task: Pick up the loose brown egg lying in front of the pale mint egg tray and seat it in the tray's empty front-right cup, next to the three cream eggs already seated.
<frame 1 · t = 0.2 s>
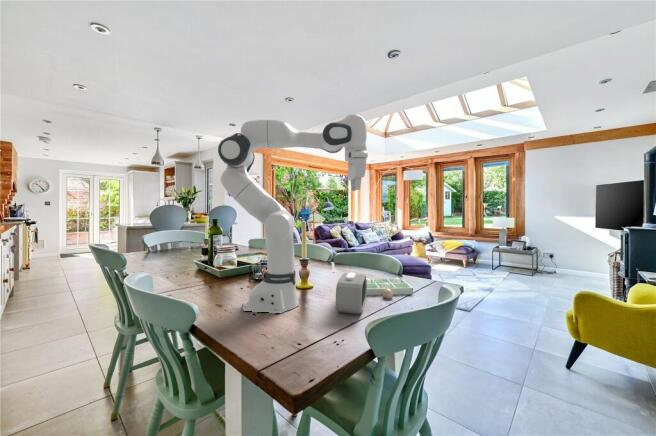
hand: (355, 190, 113), 47 cm above the table, fingers open, 8 cm apart
cream egg a: (366, 287, 136), point 1 cm above the table, touching egg tray
cream egg b: (396, 286, 136), point 1 cm above the table, touching egg tray
brown egg: (388, 299, 121), on the table
cream egg c: (385, 291, 129), point 1 cm above the table, touching egg tray
egg tray: (383, 290, 132), on the table
alarm clock: (352, 308, 111), on the table
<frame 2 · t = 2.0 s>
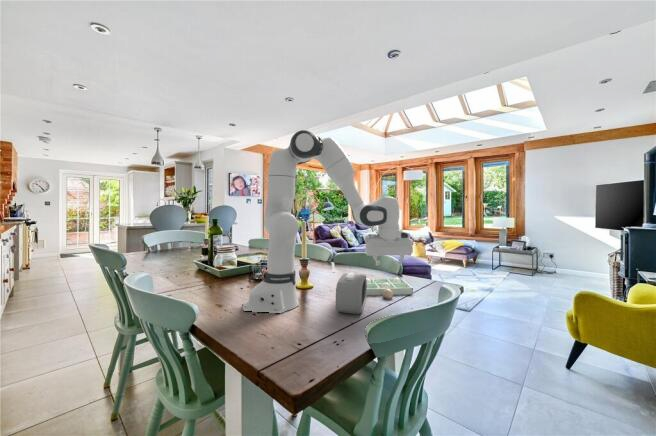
hand: (388, 265, 120), 15 cm above the table, fingers open, 8 cm apart
nothing on the table moved.
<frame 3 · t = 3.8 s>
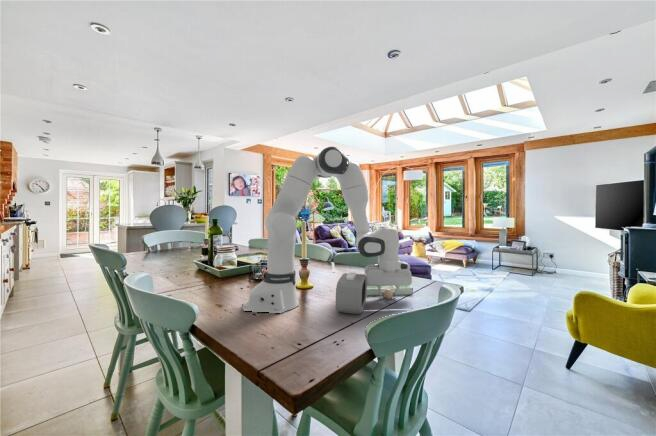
hand: (388, 295, 121), 2 cm above the table, fingers closed on brown egg, 4 cm apart
brown egg: (388, 299, 121), on the table, touching gripper
everything else where it was.
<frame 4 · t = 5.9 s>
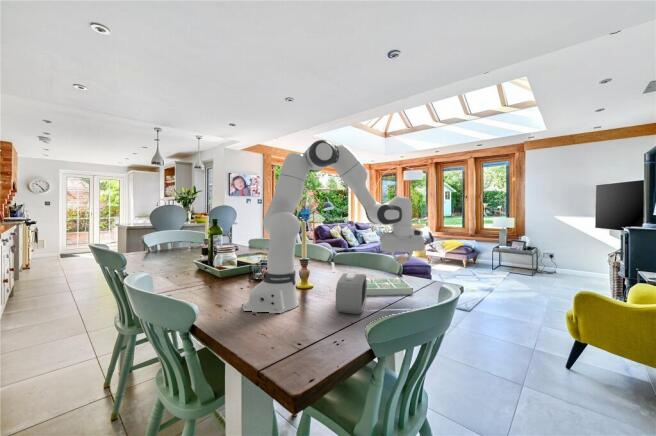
hand: (401, 260, 128), 15 cm above the table, fingers closed on brown egg, 4 cm apart
brown egg: (401, 264, 128), point 13 cm above the table, touching gripper
everything else where it was.
when the fingers open (5 cm above the table, at t = 8.0 s): brown egg drops 3 cm, resting on egg tray.
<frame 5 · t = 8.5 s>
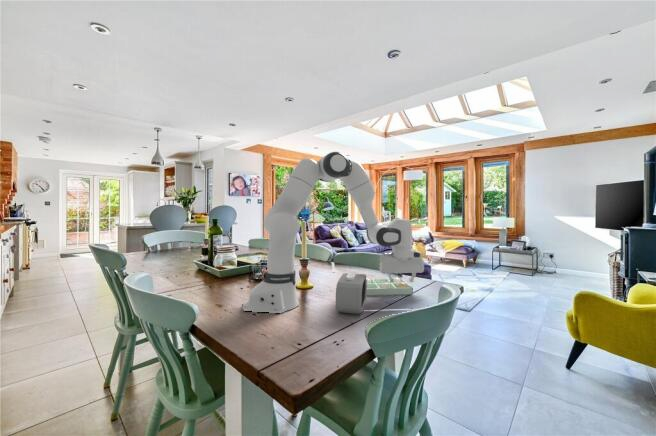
hand: (401, 282, 129), 5 cm above the table, fingers open, 8 cm apart
brown egg: (401, 291, 129), point 1 cm above the table, tilted 14°, touching egg tray
everything else where it was.
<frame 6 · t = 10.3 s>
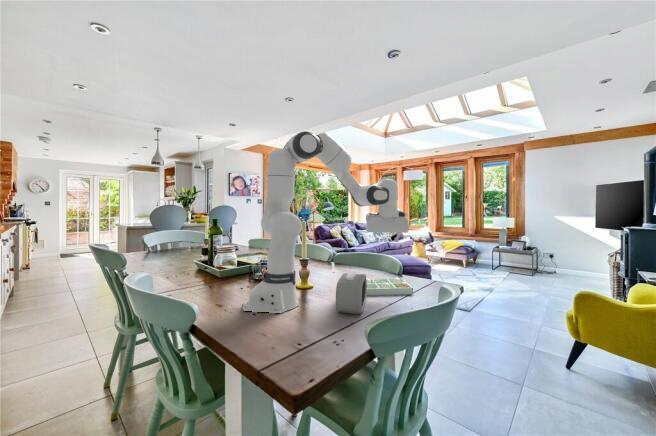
hand: (386, 241, 132), 23 cm above the table, fingers open, 8 cm apart
brown egg: (401, 291, 129), point 1 cm above the table, tilted 28°, touching egg tray
everything else where it was.
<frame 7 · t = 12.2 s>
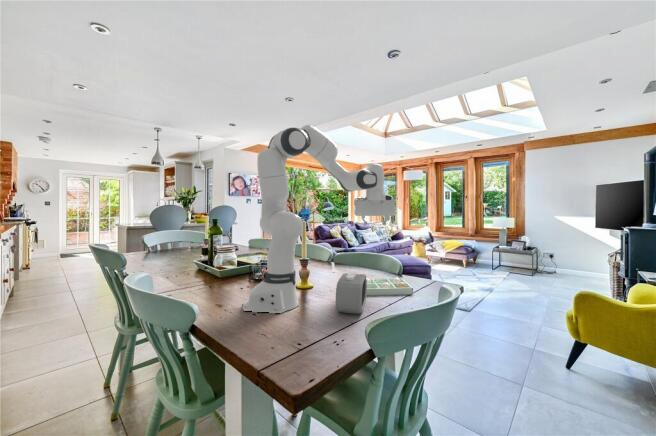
hand: (374, 225, 137), 31 cm above the table, fingers open, 8 cm apart
brown egg: (401, 291, 129), point 1 cm above the table, tilted 9°, touching egg tray
everything else where it was.
at the end: brown egg 0.1 cm from the target spot on the egg tray, point 0.6 cm above the egg tray's base; the gripper is holding nothing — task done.
